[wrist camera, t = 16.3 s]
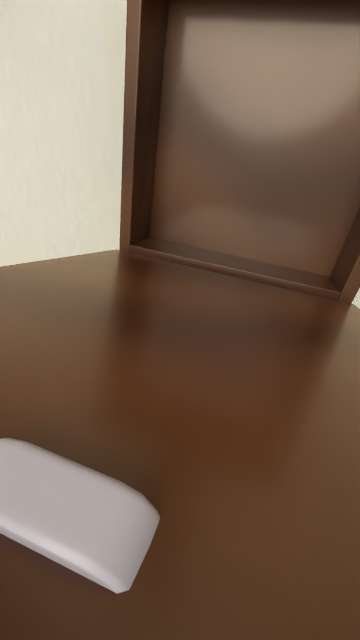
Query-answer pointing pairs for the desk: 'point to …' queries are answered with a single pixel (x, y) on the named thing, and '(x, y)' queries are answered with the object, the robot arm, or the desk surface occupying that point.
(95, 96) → the desk surface
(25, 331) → the lid
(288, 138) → the chest
